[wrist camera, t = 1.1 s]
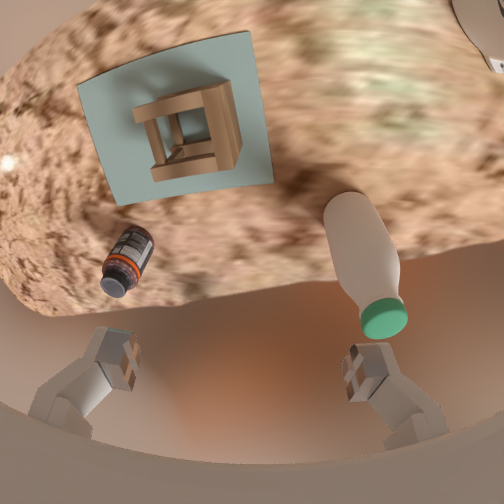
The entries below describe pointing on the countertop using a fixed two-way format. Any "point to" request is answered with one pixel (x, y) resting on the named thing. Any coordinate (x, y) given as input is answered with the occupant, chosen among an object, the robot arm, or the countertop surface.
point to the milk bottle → (365, 263)
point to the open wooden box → (198, 151)
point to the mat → (192, 121)
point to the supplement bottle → (126, 262)
